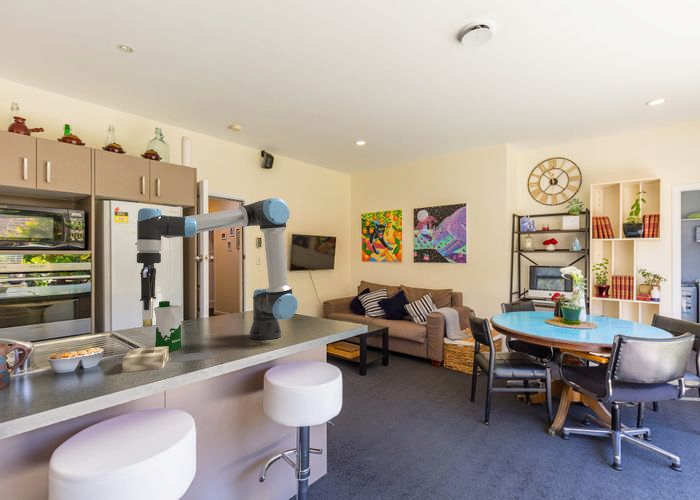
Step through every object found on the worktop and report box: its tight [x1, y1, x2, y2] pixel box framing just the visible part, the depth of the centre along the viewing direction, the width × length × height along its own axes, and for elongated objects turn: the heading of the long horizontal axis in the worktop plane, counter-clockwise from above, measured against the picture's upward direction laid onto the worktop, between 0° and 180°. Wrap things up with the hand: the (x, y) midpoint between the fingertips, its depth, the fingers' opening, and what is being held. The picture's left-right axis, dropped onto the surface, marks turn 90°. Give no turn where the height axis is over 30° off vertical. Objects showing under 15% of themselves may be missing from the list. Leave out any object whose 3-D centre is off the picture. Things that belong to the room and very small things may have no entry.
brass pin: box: [142, 297, 154, 328], centre depth 125 cm, size 3×3×10 cm
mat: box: [169, 351, 213, 363], centre depth 135 cm, size 14×10×1 cm
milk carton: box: [153, 300, 184, 353], centre depth 145 cm, size 9×9×20 cm
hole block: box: [121, 346, 170, 373], centre depth 125 cm, size 12×12×5 cm
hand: (147, 318), depth 125 cm, fingers closed on brass pin, 2 cm apart
